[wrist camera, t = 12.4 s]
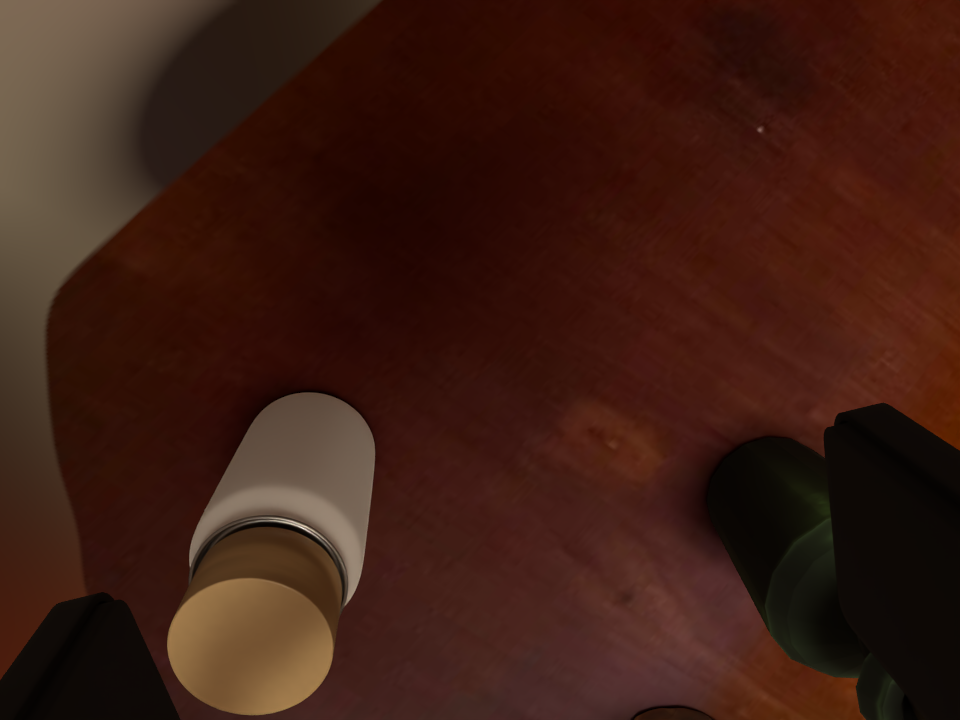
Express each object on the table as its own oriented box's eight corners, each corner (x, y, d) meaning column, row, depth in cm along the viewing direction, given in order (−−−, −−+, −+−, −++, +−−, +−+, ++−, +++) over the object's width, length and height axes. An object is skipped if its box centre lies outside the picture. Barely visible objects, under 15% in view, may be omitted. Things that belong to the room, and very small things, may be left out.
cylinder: (162, 588, 27) (131, 647, 24) (268, 498, 27) (249, 547, 24) (269, 676, 29) (252, 742, 26) (372, 593, 28) (367, 650, 25)
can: (360, 518, 41) (338, 676, 29) (235, 492, 40) (161, 644, 28) (389, 405, 39) (378, 526, 27) (259, 375, 38) (192, 487, 26)
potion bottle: (724, 403, 40) (950, 617, 23) (862, 441, 41) (1174, 671, 24) (668, 538, 42) (836, 825, 25) (800, 570, 44) (1047, 864, 27)
